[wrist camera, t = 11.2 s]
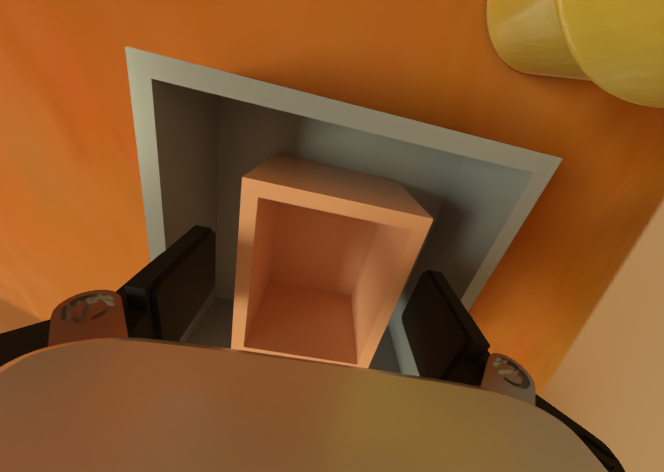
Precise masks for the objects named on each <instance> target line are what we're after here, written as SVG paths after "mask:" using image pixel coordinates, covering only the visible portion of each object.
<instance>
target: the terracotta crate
mask: <svg viewBox="0 0 664 472" xmlns="http://www.w3.org/2000/svg"><path fill="white" fill-rule="evenodd" d="M432 222H433V218H432V217H431V216H430V215H429V214H428V213H427V212H426V211H425V210H424V209H423V208H422V206H421V205H420V204H419V203H418V202H417V201H416V200H415V199H414V198H413V197H412V196H411V195H410V194H409V193H408V192H407V191H406V190H405V189H404V188H403V187H402V186H401V185H400V184H399V183H398V182H397V181H396V180H392V179H388V178H383V177H379V176H375V175H370V174H366V173H362V172H358V171H353V170H349V169H345V168H340V167H336V166H332V165H327V164H323V163H319V162H314V161H310V160H306V159H302V158H297V157H293V156H289V155H284V154H280V153H277V154H275V155H274V156H272V157H271V158H269V159H268V160H266V161H265V162H263V163H262V164H260V165H259V166H257V167H256V168H254V169H253V170H251V171H250V172H248V173H247V174H245V175H244V176H243V177H242V185H241V200H240V216H239V231H238V247H237V262H236V278H235V293H234V309H233V325H232V340H231V349H237V350H244V351H251V352H258V353H265V354H272V355H279V356H286V357H293V358H300V359H307V360H314V361H321V362H328V363H334V364H341V365H348V366H355V367H362V368H368V367H369V365H370V362H371V360H372V358H373V356H374V353H375V351H376V349H377V347H378V344H379V342H380V340H381V338H382V335H383V333H384V331H385V328H386V326H387V324H388V322H389V319H390V317H391V315H392V313H393V310H394V308H395V306H396V303H397V301H398V299H399V297H400V294H401V292H402V290H403V288H404V285H405V283H406V281H407V278H408V276H409V274H410V272H411V269H412V267H413V265H414V263H415V260H416V258H417V256H418V254H419V251H420V249H421V247H422V244H423V242H424V240H425V238H426V235H427V233H428V231H429V229H430V226H431V224H432Z"/></svg>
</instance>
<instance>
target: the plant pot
mask: <svg viewBox="0 0 664 472" xmlns="http://www.w3.org/2000/svg"><path fill="white" fill-rule="evenodd" d="M486 14H487V26H488V32H489V36H490V39H491V42H492V45H493V47H494V49H495V51H496V52H497V54H498V55H499V57H500V58H501V59H502V60H503V61H504V62H505V63H506V64H507V65H509V66H510V67H511V68H513V69H515V70H517V71H519V72H522V73H526V74H532V75H541V76H551V77H560V78H570V79H579V80H587V81H593V82H594V83H595V84H596V85H597V86H599V87H600V88H601V89H603V90H604V91H606V92H607V93H609V94H611V95H613V96H615V97H618V98H620V99H622V100H625V101H627V102H631V103H634V104H637V105H642V106H649V107H655V108H664V0H487V13H486Z"/></svg>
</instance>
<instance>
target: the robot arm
mask: <svg viewBox="0 0 664 472" xmlns="http://www.w3.org/2000/svg"><path fill="white" fill-rule="evenodd" d="M215 268H216V234H215V232H213V231H212V229H211V228H210V227H205V226H200V225H195V226H193V227H192V228H191V229H190V230H189V231H188V232H186V233H185V234H184V235H183V236H182V237H181V238H179V239H178V240H177V241H176V242H175V243H173V244H172V245H171V246H170V247H169V248H168V249H166V250H165V251H164V252H162V253H161V254H160V255H159V256H157V257H156V258H155V259H154V260H153V261H151V262H150V263H149V264H148V265H147V266H146V267H144V268H143V269H142V270H141V271H140V272H139V273H137V274H136V275H135V276H134V277H133V278H131V279H130V280H129V281H128V282H127V283H126V284H124V285H123V286H122V287H121V288H120V289H118V290H117V291H116V292H114V291H109V290H94V291H88V292H84V293H81V294H77V295H75V296H73V297H71V298H68V299H67V300H65V301H64V302H62V303H60V304H59V305H58V306H57V307H56V308H55V309H54V310H53V313H52V315H51V319H50V320H47V321H43V322H40V323H36V324H33V325H29V326H26V327H22V328H19V329H16V330H12V331H9V332H5V333H1V334H0V472H625V471H624V469H623V467H622V465H621V464H620V462H619V460H618V459H617V458H616V457H615V455H614V454H613V453H612V451H611V450H610V449H609V448H608V447H607V446H606V445H605V444H604V443H603V442H602V441H600V440H599V439H598V438H596V437H595V436H594V435H592V434H591V433H590V432H588V431H587V430H585V429H584V428H583V427H581V426H580V425H578V424H577V423H576V422H574V421H573V420H571V419H570V418H569V417H567V416H566V415H564V414H563V413H562V412H560V411H559V410H557V409H556V408H555V407H553V406H552V405H550V404H549V403H548V402H546V401H545V400H543V399H542V398H541V397H539V396H538V395H536V394H535V391H536V388H535V383H534V381H533V379H532V377H531V376H530V375H529V373H528V372H527V371H526V370H525V369H524V368H523V367H522V366H521V365H520V364H519V363H517V362H516V361H514V360H513V359H511V358H509V357H507V356H505V355H502V354H499V353H493V354H490V353H489V352H488V348H489V347H490V344H489V343H488V341H487V340H486V338H485V337H484V335H483V334H482V332H481V331H480V329H479V328H478V326H477V325H476V323H475V322H474V320H473V319H472V317H471V316H470V314H469V313H468V311H467V310H466V308H465V307H464V305H463V304H462V302H461V301H460V299H459V298H458V296H457V295H456V293H455V292H454V290H453V289H452V287H451V286H450V284H449V283H448V281H447V280H446V278H445V277H444V275H443V274H442V273H441V272H438V271H432V270H427V271H426V272H423V273H422V274H421V276H420V278H419V280H418V282H417V284H416V286H415V289H414V291H413V293H412V295H411V297H410V299H409V301H408V303H407V305H406V307H405V309H404V311H403V314H402V324H403V327H404V330H405V333H406V336H407V339H408V342H409V345H410V348H411V351H412V354H413V357H414V361H415V364H416V367H417V370H418V373H419V376H414V375H408V374H401V373H394V372H388V371H381V370H375V369H368V368H362V367H355V366H348V365H341V364H334V363H328V362H321V361H314V360H307V359H300V358H293V357H286V356H279V355H272V354H265V353H258V352H251V351H244V350H237V349H230V348H222V347H215V346H208V345H200V344H192V343H184V342H179V341H180V339H181V338H182V336H183V335H184V333H185V331H186V330H187V328H188V327H189V325H190V324H191V322H192V321H193V319H194V318H195V316H196V315H197V313H198V312H199V310H200V309H201V307H202V306H203V304H204V303H205V301H206V300H207V298H208V297H209V295H210V293H211V292H212V290H213V289H214V286H215Z"/></svg>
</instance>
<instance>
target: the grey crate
mask: <svg viewBox="0 0 664 472" xmlns="http://www.w3.org/2000/svg"><path fill="white" fill-rule="evenodd" d="M125 51H126V60H127V68H128V76H129V85H130V93H131V102H132V110H133V118H134V127H135V135H136V144H137V152H138V160H139V169H140V177H141V186H142V194H143V203H144V211H145V219H146V228H147V236H148V245H149V253H150V261H153V260H154V259H155V258H156V257H157V256H159V255H160V254H161V253H162V252H164V251H165V250H166V249H168V248H169V247H170V246H171V245H172V244H173V243H175V242H176V241H177V240H178V239H179V238H181V237H182V236H183V235H184V234H185V233H186V232H188V231H189V230H190V229H191V228H192V227H193V226H195V225H200V226H205V227H210V228H211V229H212V231H213V232H215V234H216V268H215V286H214V289H213V290H212V292H211V293H210V295H209V297H208V298H207V300H206V301H205V303H204V304H203V306H202V307H201V309H200V310H199V312H198V313H197V315H196V316H195V318H194V319H193V321H192V322H191V324H190V325H189V327H188V328H187V330H186V331H185V333H184V335H183V336H182V338H181V339H180V341H179V342H184V343H192V344H200V345H208V346H215V347H222V348H230V349H231V340H232V325H233V309H234V293H235V278H236V262H237V247H238V231H239V216H240V200H241V185H242V177H243V176H244V175H245V174H247V173H248V172H250V171H251V170H253V169H254V168H256V167H257V166H259V165H260V164H262V163H263V162H265V161H266V160H268V159H269V158H271V157H272V156H274V155H275V154H277V153H280V154H284V155H289V156H293V157H297V158H302V159H306V160H310V161H314V162H319V163H323V164H327V165H332V166H336V167H340V168H345V169H349V170H353V171H358V172H362V173H366V174H370V175H375V176H379V177H383V178H388V179H392V180H396V181H397V182H398V183H399V184H400V185H401V186H402V187H403V188H404V189H405V190H406V191H407V192H408V193H409V194H410V195H411V196H412V197H413V198H414V199H415V200H416V201H417V202H418V203H419V204H420V205H421V206H422V208H423V209H424V210H425V211H426V212H427V213H428V214H429V215H430V216H431V217H432V218H433V222H432V224H431V226H430V229H429V231H428V233H427V235H426V238H425V240H424V242H423V244H422V247H421V249H420V251H419V254H418V256H417V258H416V260H415V263H414V265H413V267H412V269H411V272H410V274H409V276H408V278H407V281H406V283H405V285H404V288H403V290H402V292H401V294H400V297H399V299H398V301H397V303H396V306H395V308H394V310H393V313H392V315H391V317H390V319H389V322H388V324H387V326H386V328H385V331H384V333H383V335H382V338H381V340H380V342H379V344H378V347H377V349H376V351H375V353H374V356H373V358H372V360H371V362H370V365H369V367H368V369H375V370H381V371H388V372H394V373H401V374H408V375H414V376H419V373H418V370H417V367H416V364H415V361H414V357H413V354H412V351H411V348H410V345H409V342H408V339H407V336H406V333H405V330H404V327H403V324H402V314H403V311H404V309H405V307H406V305H407V303H408V301H409V299H410V297H411V295H412V293H413V291H414V289H415V286H416V284H417V282H418V280H419V278H420V276H421V274H422V273H423V272H426V271H427V270H432V271H438V272H441V273H442V274H443V275H444V277H445V278H446V280H447V281H448V283H449V284H450V286H451V287H452V289H453V290H454V292H455V293H456V295H457V296H458V298H459V299H460V301H461V302H462V304H463V305H464V307H465V308H466V310H467V311H468V312H469V310H470V309H471V307H472V305H473V304H474V302H475V300H476V299H477V297H478V296H479V294H480V292H481V291H482V289H483V288H484V286H485V284H486V283H487V281H488V279H489V278H490V276H491V275H492V273H493V271H494V270H495V268H496V266H497V265H498V263H499V262H500V260H501V258H502V257H503V255H504V253H505V252H506V250H507V249H508V247H509V245H510V244H511V242H512V240H513V239H514V237H515V236H516V234H517V232H518V231H519V229H520V228H521V226H522V224H523V223H524V221H525V219H526V218H527V216H528V215H529V213H530V211H531V210H532V208H533V206H534V205H535V203H536V202H537V200H538V198H539V197H540V195H541V193H542V192H543V190H544V189H545V187H546V185H547V184H548V182H549V180H550V179H551V177H552V176H553V174H554V172H555V171H556V169H557V168H558V166H559V164H560V163H561V161H562V159H563V158H559V157H556V156H552V155H548V154H544V153H540V152H536V151H532V150H528V149H524V148H520V147H517V146H513V145H509V144H505V143H501V142H497V141H493V140H489V139H485V138H481V137H478V136H474V135H470V134H466V133H462V132H458V131H454V130H450V129H446V128H443V127H439V126H435V125H431V124H427V123H423V122H419V121H415V120H411V119H407V118H404V117H400V116H396V115H392V114H388V113H384V112H380V111H376V110H372V109H368V108H365V107H361V106H357V105H353V104H349V103H345V102H341V101H337V100H333V99H329V98H326V97H322V96H318V95H314V94H310V93H306V92H302V91H298V90H294V89H291V88H287V87H283V86H279V85H275V84H271V83H267V82H263V81H259V80H255V79H252V78H248V77H244V76H240V75H236V74H232V73H228V72H224V71H220V70H216V69H213V68H209V67H205V66H201V65H197V64H193V63H189V62H185V61H181V60H177V59H174V58H170V57H166V56H162V55H158V54H154V53H150V52H146V51H142V50H139V49H135V48H131V47H127V46H125Z"/></svg>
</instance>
